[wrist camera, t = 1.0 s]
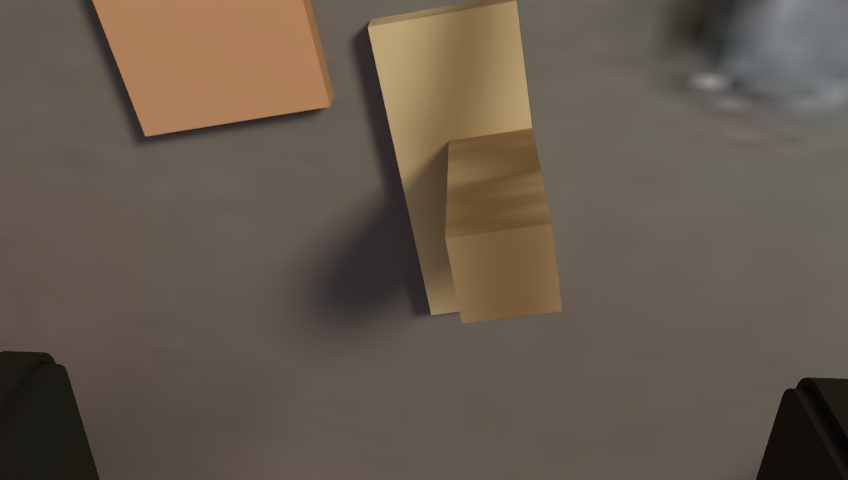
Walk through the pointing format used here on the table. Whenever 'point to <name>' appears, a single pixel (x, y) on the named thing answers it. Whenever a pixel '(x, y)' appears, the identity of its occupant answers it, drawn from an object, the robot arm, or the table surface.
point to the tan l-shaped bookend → (468, 158)
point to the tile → (216, 60)
